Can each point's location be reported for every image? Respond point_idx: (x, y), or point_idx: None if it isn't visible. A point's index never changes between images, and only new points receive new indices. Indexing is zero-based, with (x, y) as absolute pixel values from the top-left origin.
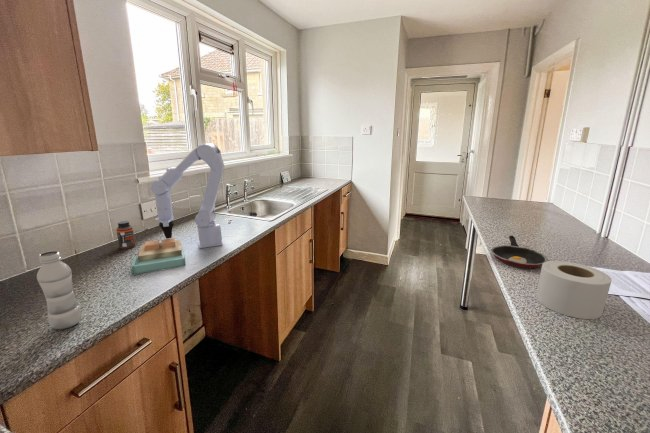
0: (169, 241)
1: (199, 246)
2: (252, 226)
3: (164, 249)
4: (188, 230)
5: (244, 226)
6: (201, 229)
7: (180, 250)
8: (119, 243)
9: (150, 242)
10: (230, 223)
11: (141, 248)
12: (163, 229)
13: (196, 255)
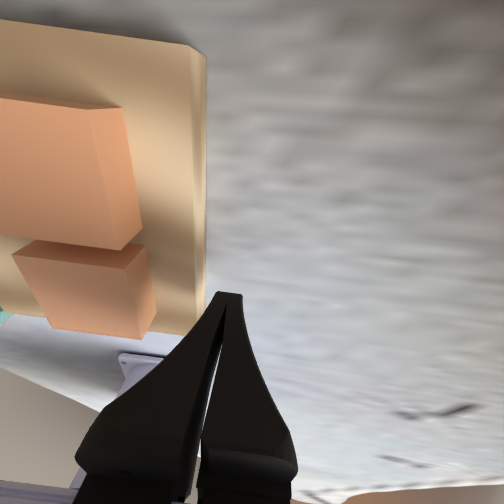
0: (66, 306)
1: (130, 358)
2: None
3: (18, 243)
4: (449, 371)
5: (309, 464)
6: (78, 475)
7: (5, 308)
8: None
9: (57, 170)
10: (382, 458)
11: (64, 46)
12: (156, 371)
13: (37, 328)
